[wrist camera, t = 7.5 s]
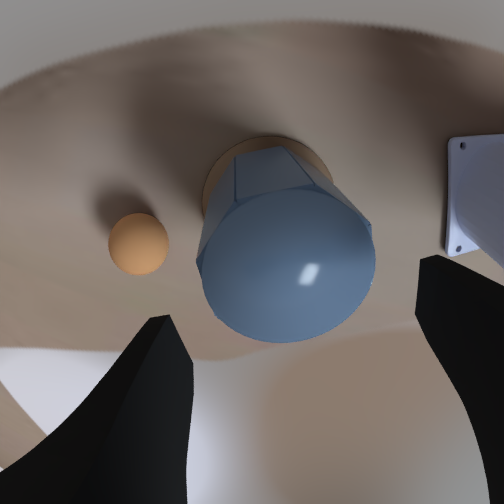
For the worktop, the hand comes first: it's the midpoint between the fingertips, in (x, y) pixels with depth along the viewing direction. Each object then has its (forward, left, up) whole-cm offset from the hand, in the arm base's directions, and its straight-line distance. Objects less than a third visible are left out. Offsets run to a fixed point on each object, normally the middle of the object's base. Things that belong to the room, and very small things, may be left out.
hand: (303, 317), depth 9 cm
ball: (+7, 0, -8) cm, 10 cm away
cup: (0, 0, -9) cm, 9 cm away
